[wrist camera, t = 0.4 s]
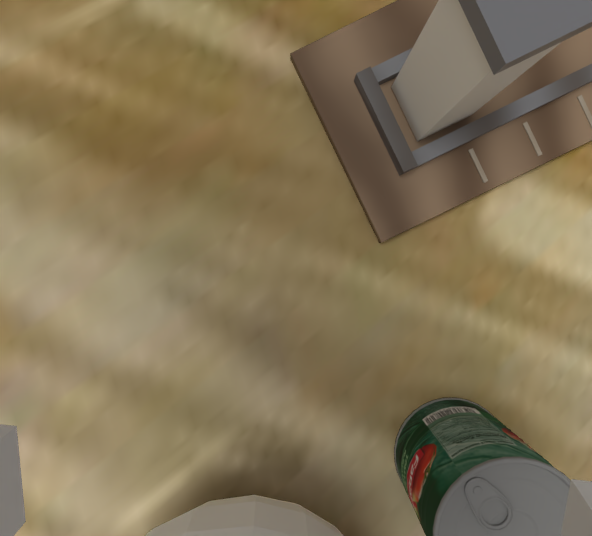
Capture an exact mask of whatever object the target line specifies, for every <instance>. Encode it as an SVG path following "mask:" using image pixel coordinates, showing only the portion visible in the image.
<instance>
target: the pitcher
mask: <svg viewBox="0 0 592 536" xmlns="http://www.w3.org/2000/svg"><path fill="white" fill-rule="evenodd" d="M145 536H344V535H343V534H342V533H341V532H340V531H339V530H338V529H337V528H336V526H334V525H332V524H331V523H329V522H327V521H326V520H324V519H322V518H321V517H319V516H317V515H316V514H314V513H312V512H311V511H309V510H307V509H306V508H304V507H302V506H301V505H299V504H296V503H292V502H287V501H282V500H277V499H272V498H268V497H263V496H258V495H249V496H242V497H235V498H227V499H220V500H213V501H208V502H206V503H204V504H202V505H200V506H198V507H196V508H194V509H192V510H190V511H188V512H186V513H184V514H182V515H180V516H178V517H176V518H174V519H172V520H170V521H168V522H166V523H164V524H161V525H159V526H157V527H155V528H153V529H152V530H151V531H149V532H148V533H147V534H146V535H145Z"/></svg>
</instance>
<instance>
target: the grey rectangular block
mask: <svg viewBox="0 0 592 536" xmlns="http://www.w3.org/2000/svg"><path fill="white" fill-rule="evenodd" d="M591 27H592V0H439V1H438V2H437V4H436V6H435V8H434V10H433V12H432V13H431V15H430V17H429V19H428V21H427V22H426V24H425V26H424V28H423V30H422V32H421V33H420V35H419V37H418V39H417V41H416V43H415V44H414V46H413V48H412V50H411V52H410V54H409V55H408V57H407V59H406V61H405V63H404V65H403V66H402V68H401V70H400V72H399V74H398V76H397V77H396V79H395V81H394V83H393V85H392V87H391V88H392V90H393V92H394V94H395V96H396V98H397V100H398V103H399V105H400V107H401V109H402V111H403V113H404V115H405V117H406V119H407V121H408V123H409V125H410V128H411V130H412V132H413V134H414V136H415V138H416V140H417V142H418V141H420V140H422V139H424V138H426V137H428V136H430V135H432V134H434V133H436V132H438V131H440V130H442V129H444V128H446V127H448V126H450V125H452V124H454V123H456V122H458V121H461V120H463V119H465V118H467V117H469V116H471V115H472V114H474V113H475V112H476V111H477V110H479V109H480V108H481V107H482V106H483V105H485V104H486V103H487V102H488V101H490V100H491V99H492V98H493V97H495V96H496V95H497V94H498V93H500V92H501V91H502V90H503V89H504V88H506V87H507V86H508V85H509V84H511V83H512V82H513V81H514V80H516V79H517V78H518V77H519V76H521V75H522V74H523V73H524V72H525V71H527V70H528V69H529V68H530V67H532V66H533V65H534V64H535V63H537V62H538V61H539V60H540V59H541V58H543V57H544V56H545V55H546V54H548V53H549V52H550V51H551V50H553V49H554V48H555V47H556V46H558V45H559V44H560V43H561V42H562V41H564V40H566V39H568V38H570V37H572V36H575V35H577V34H579V33H581V32H583V31H585V30H587V29H589V28H591Z"/></svg>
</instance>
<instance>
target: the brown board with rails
mask: <svg viewBox="0 0 592 536" xmlns="http://www.w3.org/2000/svg"><path fill="white" fill-rule="evenodd" d="M438 1H439V0H397V1H395V2H393V3H391V4H389V5H387V6H385V7H383V8H381V9H379V10H377V11H375V12H373V13H371V14H369V15H367V16H365V17H363V18H361V19H359V20H357V21H355V22H353V23H351V24H349V25H347V26H345V27H343V28H341V29H339V30H337V31H335V32H333V33H331V34H329V35H327V36H325V37H323V38H321V39H319V40H317V41H315V42H313V43H311V44H309V45H307V46H305V47H303V48H301V49H299V50H297V51H295V52H293V53H291V54H290V56H291V61H292V63H293V65H294V67H295V69H296V71H297V73H298V75H299V78H300V80H301V82H302V84H303V86H304V88H305V90H306V92H307V94H308V96H309V98H310V100H311V102H312V104H313V106H314V109H315V111H316V113H317V115H318V117H319V119H320V121H321V123H322V125H323V127H324V129H325V131H326V133H327V135H328V137H329V140H330V142H331V144H332V146H333V148H334V150H335V152H336V154H337V156H338V158H339V160H340V162H341V164H342V166H343V168H344V171H345V173H346V175H347V177H348V179H349V181H350V183H351V185H352V187H353V189H354V191H355V193H356V195H357V197H358V199H359V202H360V204H361V206H362V208H363V210H364V212H365V214H366V216H367V218H368V220H369V222H370V224H371V226H372V228H373V231H374V233H375V235H376V237H377V239H378V241H379V243H381V242H384V241H386V240H388V239H390V238H392V237H394V236H396V235H398V234H400V233H402V232H404V231H406V230H408V229H410V228H412V227H414V226H417V225H419V224H421V223H423V222H425V221H427V220H429V219H431V218H433V217H435V216H437V215H439V214H441V213H443V212H445V211H447V210H449V209H451V208H453V207H456V206H458V205H460V204H462V203H464V202H466V201H468V200H470V199H472V198H474V197H476V196H478V195H480V194H482V193H484V192H486V191H488V190H490V189H493V188H495V187H497V186H499V185H501V184H503V183H505V182H507V181H509V180H511V179H513V178H515V177H517V176H519V175H521V174H523V173H525V172H527V171H529V170H532V169H534V168H536V167H538V166H540V165H542V164H544V163H546V162H548V161H550V160H552V159H554V158H556V157H558V156H560V155H562V154H564V153H566V152H568V151H571V150H573V149H575V148H577V147H579V146H581V145H583V144H585V143H587V142H589V141H591V140H592V27H591V28H589V29H587V30H585V31H583V32H581V33H579V34H577V35H575V36H572V37H570V38H568V39H566V40H564V41H562V42H561V43H560V44H559V45H558V46H556V47H555V48H554V49H553V50H551V51H550V52H549V53H548V54H546V55H545V56H544V57H543V58H541V59H540V60H539V61H538V62H537V63H535V64H534V65H533V66H532V67H530V68H529V69H528V70H527V71H525V72H524V73H523V74H522V75H521V76H519V77H518V78H517V79H516V80H514V81H513V82H512V83H511V84H509V85H508V86H507V87H506V88H504V89H503V90H502V91H501V92H500V93H498V94H497V95H496V96H495V97H493V98H492V99H491V100H490V101H488V102H487V103H486V104H485V105H483V106H482V107H481V108H480V109H479V110H477V111H476V112H475V113H474V114H472V115H471V116H469V117H467V118H465V119H463V120H461V121H458V122H456V123H454V124H452V125H450V126H448V127H446V128H444V129H442V130H440V131H438V132H436V133H434V134H432V135H430V136H428V137H426V138H424V139H422V140H420V141H418V142H417V140H416V138H415V136H414V134H413V132H412V130H411V128H410V125H409V123H408V121H407V119H406V117H405V115H404V113H403V111H402V109H401V107H400V105H399V103H398V100H397V98H396V96H395V94H394V92H393V90H392V88H391V87H392V85H393V83H394V81H395V79H396V77H397V76H398V74H399V72H400V70H401V68H402V66H403V65H404V63H405V61H406V59H407V57H408V55H409V54H410V52H411V50H412V48H413V46H414V44H415V43H416V41H417V39H418V37H419V35H420V33H421V32H422V30H423V28H424V26H425V24H426V22H427V21H428V19H429V17H430V15H431V13H432V12H433V10H434V8H435V6H436V4H437V2H438Z"/></svg>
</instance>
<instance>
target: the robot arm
mask: <svg viewBox="0 0 592 536" xmlns="http://www.w3.org/2000/svg"><path fill="white" fill-rule="evenodd" d="M25 522H26V521H25V510H24V500H23V489H22V479H21V468H20V458H19V447H18V436H17V426H11V425H0V536H14V535H15V534H16V532H17V531H18V530H19V529H20V528H21V527H22V525H23V524H24V523H25ZM561 536H592V481H582V480H572V479H571V483H570V489H569V494H568V499H567V504H566V510H565V515H564V520H563V525H562V530H561Z"/></svg>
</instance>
